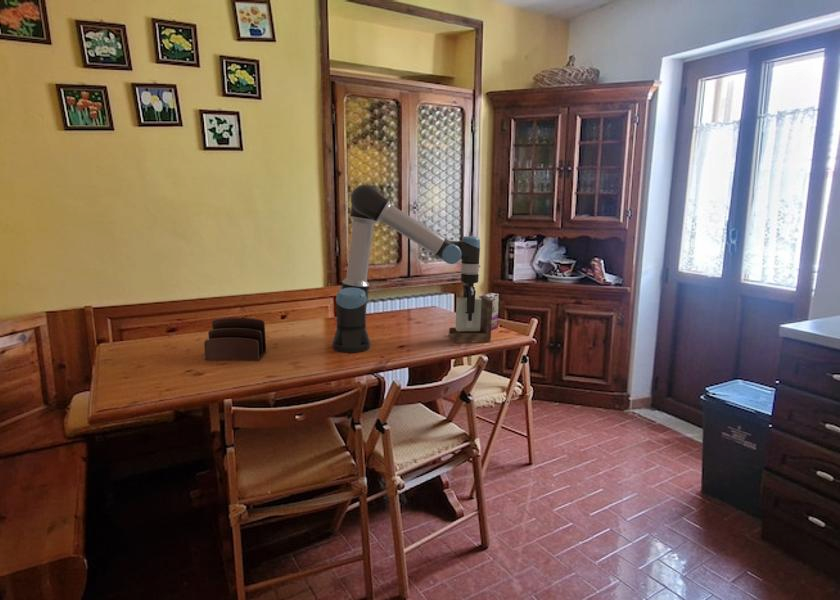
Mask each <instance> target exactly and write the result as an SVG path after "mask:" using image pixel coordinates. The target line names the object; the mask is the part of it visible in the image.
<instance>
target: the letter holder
mask: <svg viewBox="0 0 840 600" xmlns="http://www.w3.org/2000/svg"><path fill="white" fill-rule="evenodd" d="M211 323H212V329H210V330H209V331H208V338H207V339H205V340H204V343H203V345H204V361H255V362H257V361H258V362H259V361H260V360H261V359H263V356H265V354H266V353H267V343H266V326H265V325H266V324H265V321H264V320H263V319H257V318H251V317H250V318H249V317H225V318H216V319H212V322H211Z"/></svg>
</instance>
